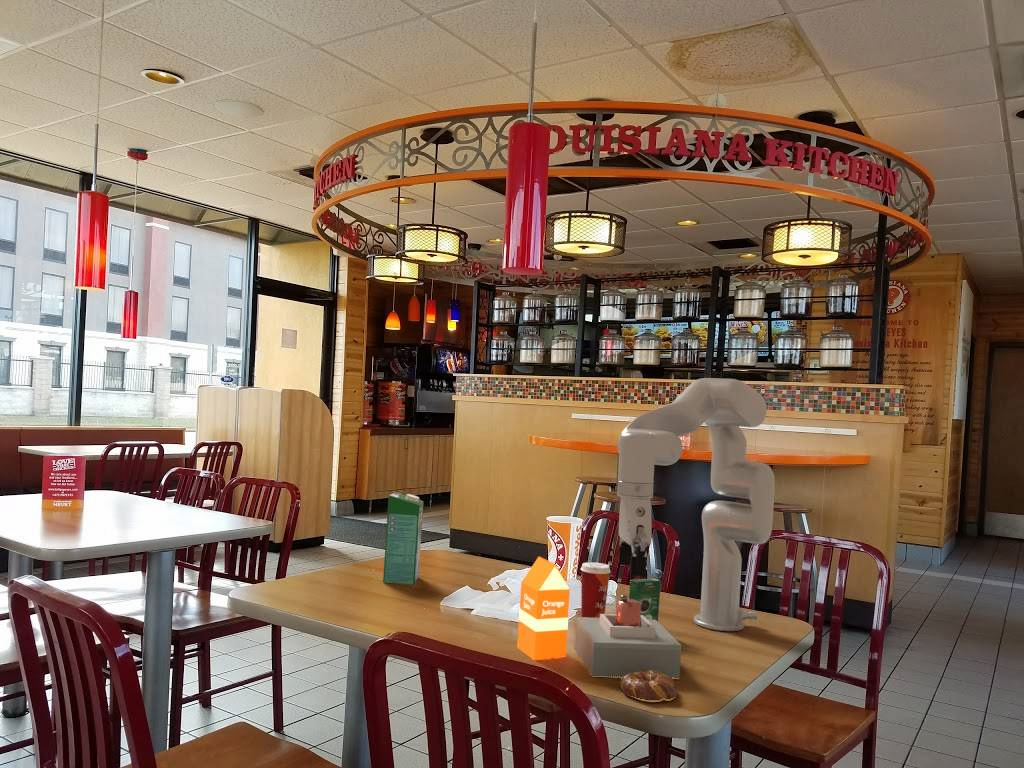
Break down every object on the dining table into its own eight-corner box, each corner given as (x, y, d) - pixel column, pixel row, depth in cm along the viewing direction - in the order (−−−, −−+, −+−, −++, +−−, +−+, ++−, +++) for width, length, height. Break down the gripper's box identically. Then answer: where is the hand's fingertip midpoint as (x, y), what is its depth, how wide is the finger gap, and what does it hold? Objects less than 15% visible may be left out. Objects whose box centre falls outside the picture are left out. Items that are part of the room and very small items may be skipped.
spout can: (633, 645, 171) (637, 593, 171) (640, 653, 166) (644, 599, 166) (611, 644, 170) (615, 592, 170) (617, 651, 165) (621, 598, 165)
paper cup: (606, 626, 195) (610, 569, 195) (575, 622, 196) (579, 566, 197) (609, 618, 202) (612, 563, 203) (579, 614, 204) (582, 560, 204)
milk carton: (414, 584, 225) (420, 496, 226) (382, 582, 225) (388, 494, 226) (418, 577, 234) (424, 493, 235) (388, 575, 234) (393, 491, 235)
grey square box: (653, 650, 178) (655, 610, 178) (679, 679, 160) (682, 635, 160) (574, 648, 176) (577, 608, 176) (591, 677, 158) (594, 632, 158)
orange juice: (533, 660, 166) (539, 565, 166) (516, 647, 174) (522, 556, 175) (566, 657, 169) (572, 564, 170) (548, 644, 177) (553, 555, 178)
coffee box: (650, 630, 194) (653, 576, 194) (658, 633, 192) (661, 579, 192) (625, 633, 190) (628, 579, 190) (633, 637, 187) (636, 581, 187)
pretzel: (624, 679, 159) (625, 661, 159) (679, 689, 156) (680, 670, 156) (614, 699, 147) (615, 679, 148) (673, 709, 144) (674, 689, 144)
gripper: (664, 496, 160) (660, 580, 160) (641, 484, 177) (638, 560, 177) (628, 495, 159) (624, 580, 159) (608, 483, 177) (605, 560, 177)
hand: (631, 569), depth 168 cm, fingers open, 9 cm apart
